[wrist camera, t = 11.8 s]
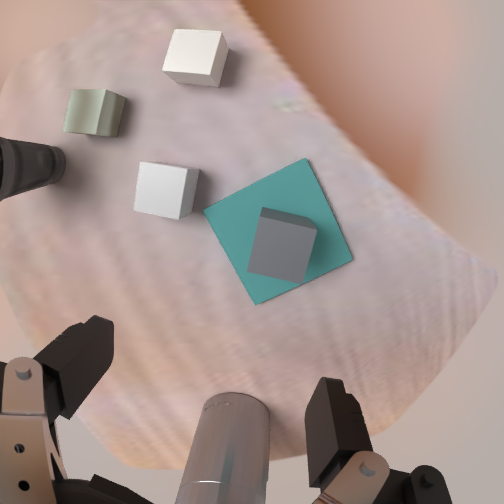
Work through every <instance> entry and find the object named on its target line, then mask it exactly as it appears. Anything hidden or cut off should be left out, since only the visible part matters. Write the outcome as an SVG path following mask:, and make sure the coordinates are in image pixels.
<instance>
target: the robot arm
mask: <svg viewBox="0 0 504 504" xmlns="http://www.w3.org/2000/svg"><path fill="white" fill-rule="evenodd" d="M113 356H114V324H113V322H112V321H110V320H107V319H105V318H102V317H99V316H97V315H94V316H92V317H91V318H90V319H89V320H88V321H87V322H86V323H84V324H83V323H81V322H80V323H78V324H75V325H72V326H70V327H68V328H67V329H66V330H65V331H64V332H62V334H61V335H59V336H58V337H57V338H55V340H53V341H52V342H51V343H50V344H49V345H47V346H46V347H45V348H44V349H43V350H42V351H41V352H39V353H38V354H37V355H36V356H35V357H34V358H33V359H32V358H28V357H19V358H15V359H13V360H11V361H10V362H9V363H8V364H7V363H4V362H0V504H153V503H152V502H150V501H148V500H146V499H145V498H143V497H141V496H140V495H138V494H137V493H135V492H133V491H132V490H130V489H128V488H127V487H124V486H121V485H119V484H117V483H114V482H112V481H109V480H107V479H105V478H102V477H100V476H98V475H96V474H94V476H93V477H92V479H91V481H88V480H81V479H68V478H67V474H66V471H65V469H64V465H63V461H62V456H61V451H60V446H59V440H58V434H57V427H56V422H55V419H56V418H57V417H58V416H59V415H61V416H63V417H65V418H67V419H69V420H70V418H71V417H72V416H73V414H74V413H75V412H76V410H77V409H78V408H79V406H80V405H81V404H82V402H83V401H84V400H85V398H86V397H87V396H88V394H89V393H90V392H91V391H92V389H93V388H94V387H95V385H96V384H97V383H98V381H99V380H100V379H101V378H102V376H103V375H104V374H105V372H106V371H107V370H108V369H109V367H110V365H111V363H112V360H113ZM364 422H365V421H364V417H363V415H362V411H361V407H360V404H359V402H358V401H357V400H356V399H355V397H354V396H353V395H352V394H348V393H346V392H345V388H344V384H343V381H342V380H340V379H334V378H327V377H322V378H321V379H320V380H319V382H318V385H317V387H316V389H315V391H314V393H313V395H312V397H311V399H310V401H309V403H308V406H307V408H306V412H305V430H306V443H307V456H308V470H309V487H315V488H320V489H321V494H320V495H319V497H318V498H317V499H316V500H315V501H314V502H313V503H312V504H452V501H451V497H450V495H449V491H448V488H447V486H446V483H445V480H444V477H443V475H442V474H441V473H440V472H439V471H438V470H437V469H435V468H434V467H432V466H428V465H421V466H418V467H417V468H415V469H414V470H413V471H412V472H411V473H406V472H401V471H397V470H393V469H390V468H389V465H388V463H387V461H386V460H385V459H384V458H383V457H382V456H381V455H379V454H377V453H375V452H373V448H372V445H371V441H370V438H369V434H368V431H367V427H366V424H365V423H364ZM269 447H270V428H269V412H268V410H267V408H266V407H265V406H264V405H263V404H262V403H261V402H260V401H258V400H256V399H255V398H253V397H250V396H248V395H243V394H238V393H224V394H219V395H216V396H214V397H212V398H210V399H209V400H208V401H207V402H206V403H205V404H204V407H203V409H202V413H201V416H200V420H199V423H198V426H197V429H196V433H195V436H194V439H193V443H192V446H191V450H190V453H189V457H188V460H187V463H186V467H185V470H184V474H183V477H182V481H181V484H180V487H179V491H178V495H177V498H176V502H175V504H265V499H266V482H267V481H268V470H269V468H268V467H269Z"/></svg>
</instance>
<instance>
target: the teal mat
mask: <svg viewBox="0 0 504 504" xmlns="http://www.w3.org/2000/svg"><path fill="white" fill-rule="evenodd" d="M262 207H266V208H270V209H274V210H278V211H283V212H287V213H291V214H295V215H299V216H304V217H308V218H309V219H310V220H311V222H312V223H313V225H314V226H315V227H316V229H317V233H316V237H315V240H314V244H313V248H312V251H311V255H310V258H309V262H308V266H307V269H306V273H305V276H304V280H303V283H305V282H308V281H310V280H312V279H314V278H316V277H318V276H320V275H322V274H325V273H327V272H329V271H331V270H333V269H335V268H337V267H339V266H341V265H343V264H345V263H347V262H349V261H351V260H353V259H352V256H351V254H350V252H349V249H348V247H347V245H346V242H345V240H344V238H343V235H342V233H341V231H340V229H339V226H338V224H337V222H336V220H335V218H334V215H333V213H332V211H331V209H330V207H329V204H328V202H327V200H326V198H325V196H324V194H323V192H322V190H321V188H320V186H319V184H318V181H317V179H316V177H315V175H314V173H313V171H312V169H311V167H310V165H309V163H308V161H307V159H306V158H304V159H302V160H300V161H298V162H296V163H294V164H292V165H289V166H287V167H285V168H283V169H281V170H279V171H277V172H275V173H273V174H271V175H269V176H267V177H265V178H263V179H261V180H259V181H257V182H255V183H253V184H252V185H250V186H248V187H246V188H244V189H242V190H240V191H238V192H236V193H234V194H232V195H230V196H229V197H227V198H225V199H223V200H221V201H219V202H217V203H215V204H214V205H212V206H210V207H208V208H206V209H204V210H203V212H204V214H205V216H206V218H207V219H208V221H209V223H210V225H211V227H212V229H213V231H214V232H215V234H216V236H217V238H218V240H219V241H220V243H221V245H222V247H223V249H224V251H225V252H226V254H227V256H228V258H229V260H230V261H231V263H232V265H233V267H234V269H235V270H236V272H237V274H238V276H239V278H240V279H241V281H242V283H243V285H244V286H245V288H246V290H247V292H248V294H249V295H250V297H251V299H252V301H253V302H254V304H255V305H257V304H259V303H261V302H264V301H266V300H268V299H270V298H273V297H275V296H277V295H279V294H282V293H284V292H286V291H288V290H290V289H292V288H295V287H297V286H299V285H301V284H299V283H294V282H290V281H285V280H281V279H276V278H272V277H268V276H263V275H259V274H254V273H250V272H247V269H248V264H249V260H250V255H251V251H252V247H253V242H254V238H255V233H256V229H257V225H258V220H259V216H260V213H261V209H262ZM303 283H302V284H303Z"/></svg>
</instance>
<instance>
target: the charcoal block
mask: <svg viewBox="0 0 504 504" xmlns="http://www.w3.org/2000/svg"><path fill="white" fill-rule="evenodd" d="M316 233H317V229H316V227H315V226H314V225H313V223H312V222H311V220H310V219H309V218H308V217H304V216H299V215H295V214H291V213H287V212H283V211H278V210H274V209H270V208H266V207H262V209H261V213H260V216H259V220H258V225H257V229H256V233H255V238H254V242H253V247H252V251H251V255H250V260H249V264H248V269H247V272H250V273H254V274H259V275H263V276H268V277H272V278H276V279H281V280H285V281H290V282H294V283H299V284H302V283H303V280H304V276H305V273H306V269H307V266H308V262H309V258H310V255H311V251H312V248H313V244H314V240H315V237H316Z"/></svg>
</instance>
